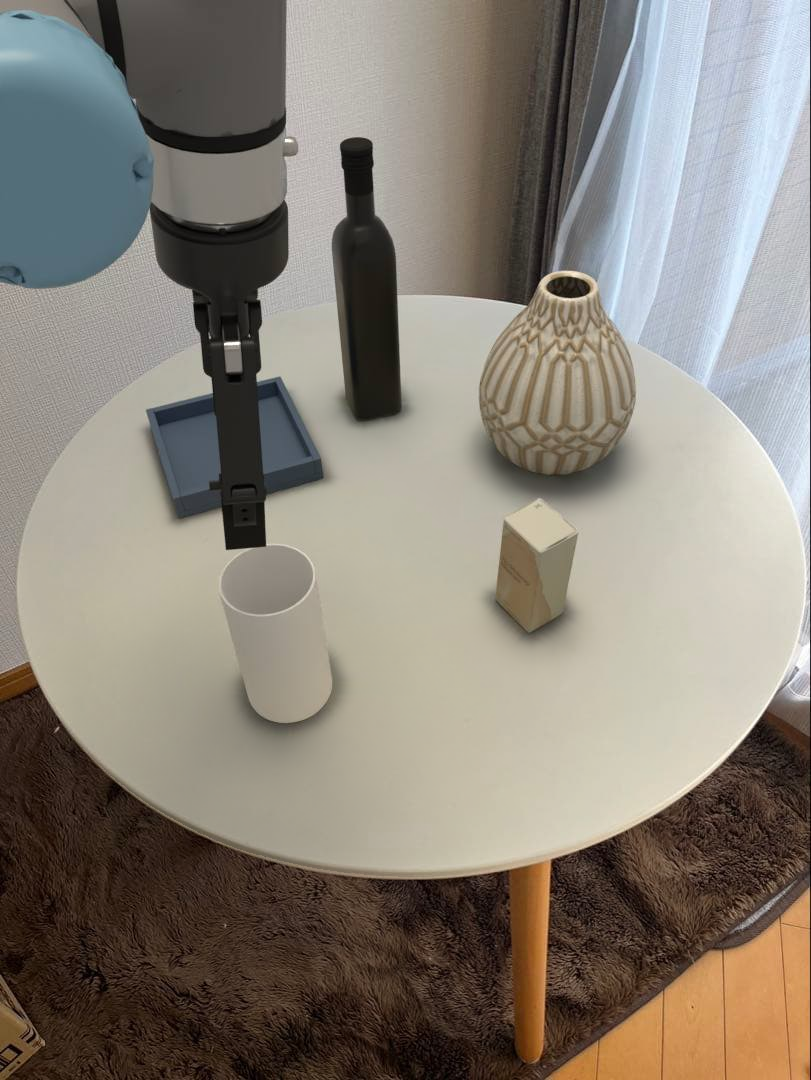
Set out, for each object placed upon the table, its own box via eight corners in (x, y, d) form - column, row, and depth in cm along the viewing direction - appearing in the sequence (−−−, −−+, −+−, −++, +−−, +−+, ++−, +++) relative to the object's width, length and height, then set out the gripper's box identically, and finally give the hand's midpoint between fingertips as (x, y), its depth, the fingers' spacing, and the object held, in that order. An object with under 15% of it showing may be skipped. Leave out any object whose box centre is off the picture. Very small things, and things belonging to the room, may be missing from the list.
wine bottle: (389, 384, 106) (376, 126, 85) (404, 413, 103) (395, 150, 81) (343, 395, 105) (318, 135, 84) (356, 424, 102) (334, 160, 80)
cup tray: (178, 518, 92) (172, 498, 90) (151, 428, 102) (145, 409, 100) (323, 478, 96) (321, 458, 93) (283, 395, 106) (280, 375, 104)
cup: (327, 724, 75) (308, 618, 64) (240, 721, 75) (208, 615, 65) (336, 653, 80) (321, 544, 69) (255, 650, 80) (228, 541, 70)
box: (493, 599, 83) (499, 515, 75) (529, 578, 85) (539, 494, 77) (530, 636, 80) (540, 552, 72) (566, 614, 82) (580, 529, 74)
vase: (558, 386, 105) (577, 226, 91) (655, 460, 96) (694, 294, 81) (447, 437, 100) (448, 274, 85) (539, 521, 90) (558, 354, 76)
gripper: (315, 333, 42) (311, 605, 58) (267, 98, 58) (274, 363, 74) (150, 340, 41) (192, 617, 56) (146, 97, 56) (180, 367, 72)
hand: (238, 473), depth 65 cm, fingers open, 13 cm apart
